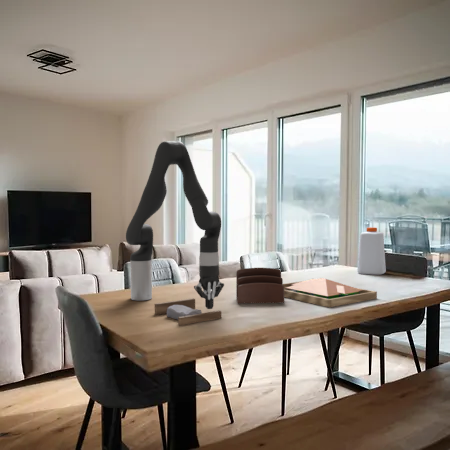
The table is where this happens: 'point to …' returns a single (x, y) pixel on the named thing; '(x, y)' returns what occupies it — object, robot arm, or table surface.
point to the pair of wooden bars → (162, 309)
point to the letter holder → (259, 286)
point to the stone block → (181, 311)
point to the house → (324, 288)
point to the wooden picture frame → (325, 302)
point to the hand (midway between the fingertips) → (209, 308)
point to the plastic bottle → (371, 253)
